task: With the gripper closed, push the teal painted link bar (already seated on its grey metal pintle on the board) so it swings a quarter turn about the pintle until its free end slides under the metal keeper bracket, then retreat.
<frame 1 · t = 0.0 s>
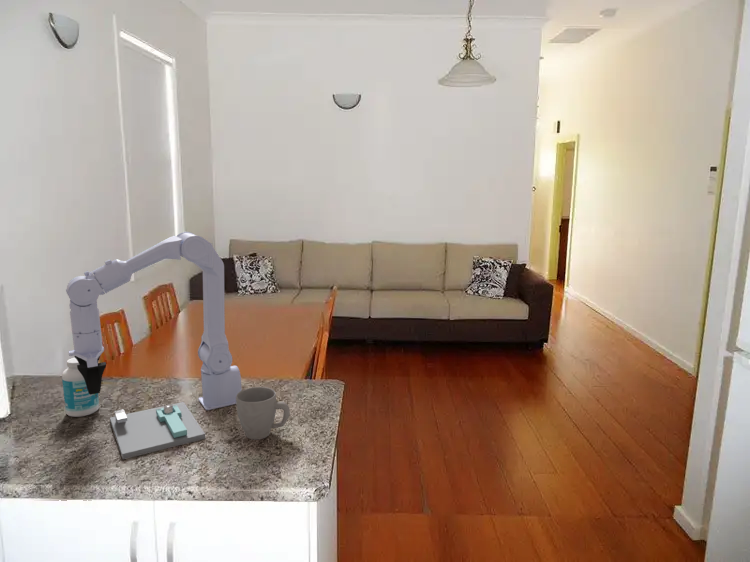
hand: (92, 387, 127), 10 cm above the worktop, fingers open, 7 cm apart
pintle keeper: (169, 421, 132), resting on board
mug: (264, 435, 126), on the worktop
board: (156, 430, 128), on the worktop
pill bottle: (83, 412, 138), on the worktop
link: (173, 421, 128), point 2 cm above the worktop, hinge at 90.0°
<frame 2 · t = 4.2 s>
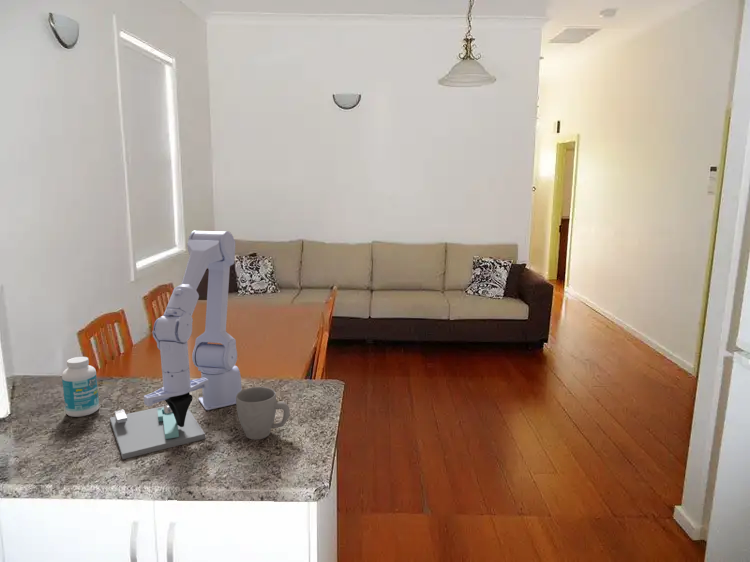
hand: (180, 425, 126), 2 cm above the worktop, fingers closed, pressing on link
link: (169, 421, 127), point 2 cm above the worktop, hinge at 81.4°, touching gripper
everything else where it was.
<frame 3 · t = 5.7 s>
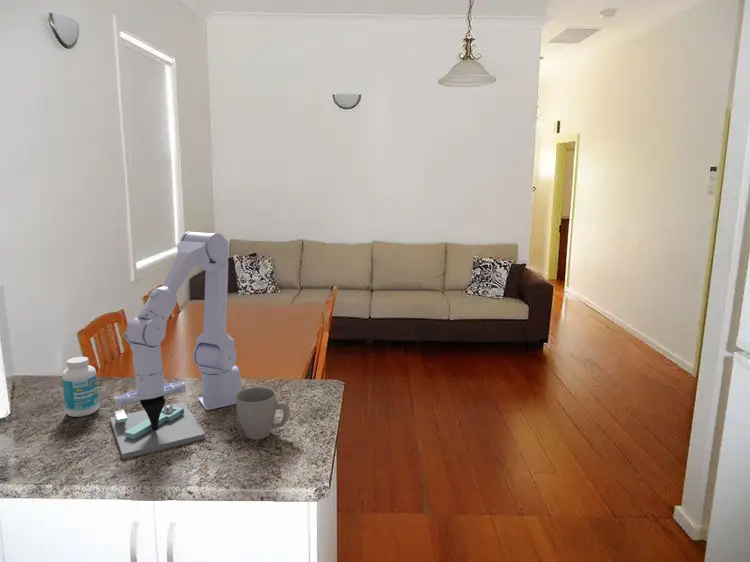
hand: (154, 428, 124), 2 cm above the worktop, fingers closed, pressing on link
link: (153, 421, 127), point 2 cm above the worktop, hinge at 35.7°, touching gripper
everything else where it was.
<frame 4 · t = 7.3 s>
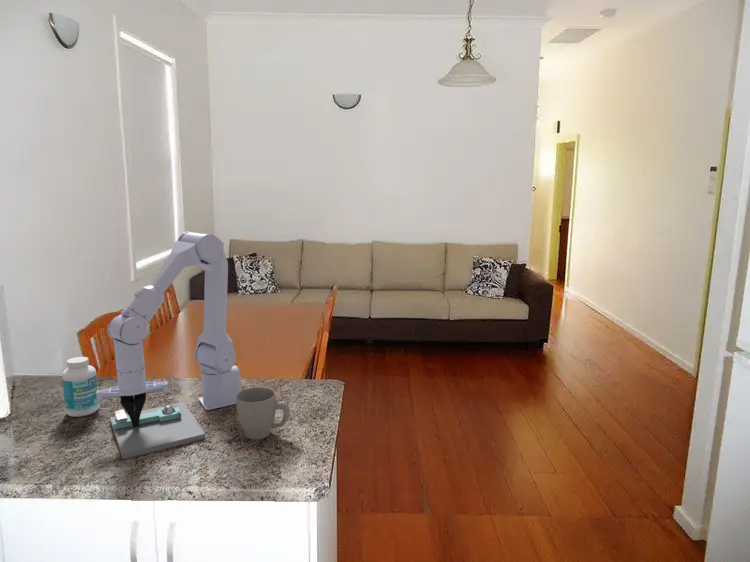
hand: (136, 425, 126), 2 cm above the worktop, fingers closed
link: (147, 417, 129), point 2 cm above the worktop, hinge at -2.6°, touching gripper
everything else where it was.
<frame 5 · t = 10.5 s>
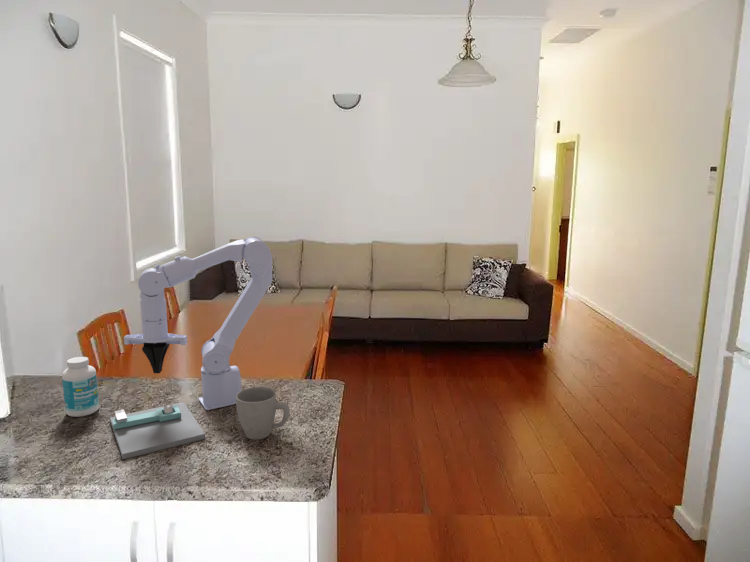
hand: (157, 371, 137), 10 cm above the worktop, fingers closed
link: (147, 417, 129), point 2 cm above the worktop, hinge at -2.7°
everything else where it was.
at the end: link at -3° (first picture: +90°) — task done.
